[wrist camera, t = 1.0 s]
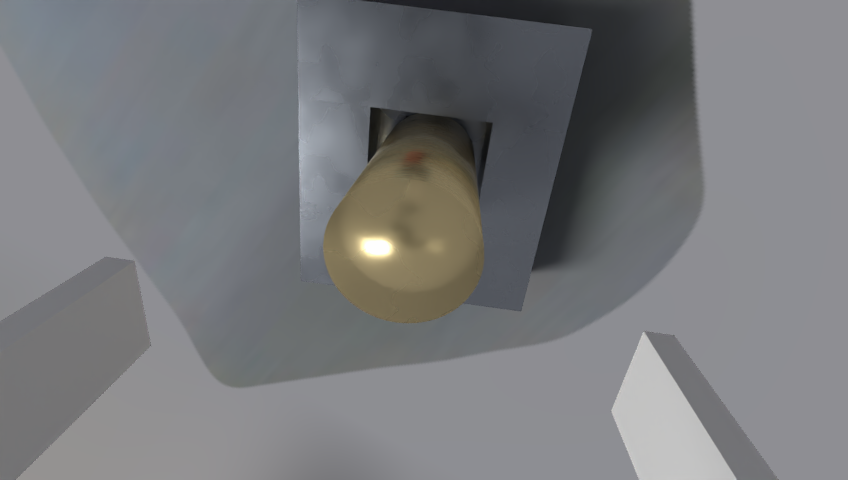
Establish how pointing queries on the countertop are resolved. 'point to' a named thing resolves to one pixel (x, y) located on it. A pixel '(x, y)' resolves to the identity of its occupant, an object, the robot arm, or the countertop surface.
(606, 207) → the countertop surface
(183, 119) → the countertop surface
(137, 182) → the countertop surface
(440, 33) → the housing
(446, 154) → the cream rounded cylinder
